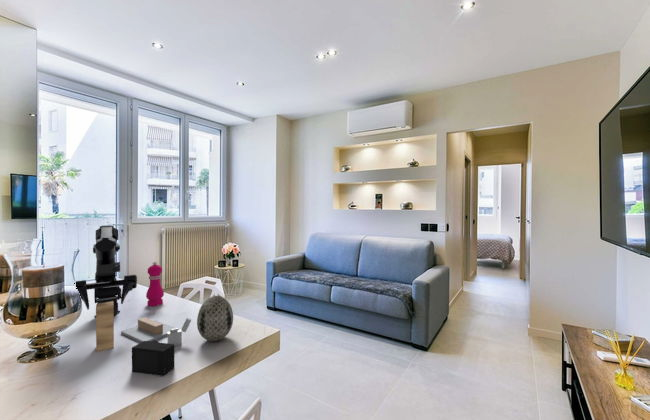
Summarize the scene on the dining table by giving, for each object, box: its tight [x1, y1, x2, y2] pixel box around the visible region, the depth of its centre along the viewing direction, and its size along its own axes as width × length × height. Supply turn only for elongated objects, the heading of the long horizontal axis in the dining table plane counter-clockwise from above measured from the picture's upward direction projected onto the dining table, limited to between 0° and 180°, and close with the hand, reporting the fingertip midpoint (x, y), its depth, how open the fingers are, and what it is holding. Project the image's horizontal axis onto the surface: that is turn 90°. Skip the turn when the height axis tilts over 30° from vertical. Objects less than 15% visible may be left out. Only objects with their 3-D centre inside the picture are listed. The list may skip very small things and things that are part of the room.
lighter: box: [167, 317, 192, 347], centre depth 99 cm, size 7×2×8 cm, turn 119°
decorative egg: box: [196, 295, 234, 342], centre depth 101 cm, size 12×12×15 cm
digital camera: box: [131, 340, 175, 377], centre depth 83 cm, size 10×5×7 cm, turn 78°
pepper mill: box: [145, 261, 165, 307], centre depth 138 cm, size 7×7×20 cm
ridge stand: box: [120, 317, 180, 343], centre depth 107 cm, size 16×12×4 cm
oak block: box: [95, 301, 115, 352], centre depth 96 cm, size 4×4×14 cm
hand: (105, 306), depth 101 cm, fingers open, 9 cm apart
